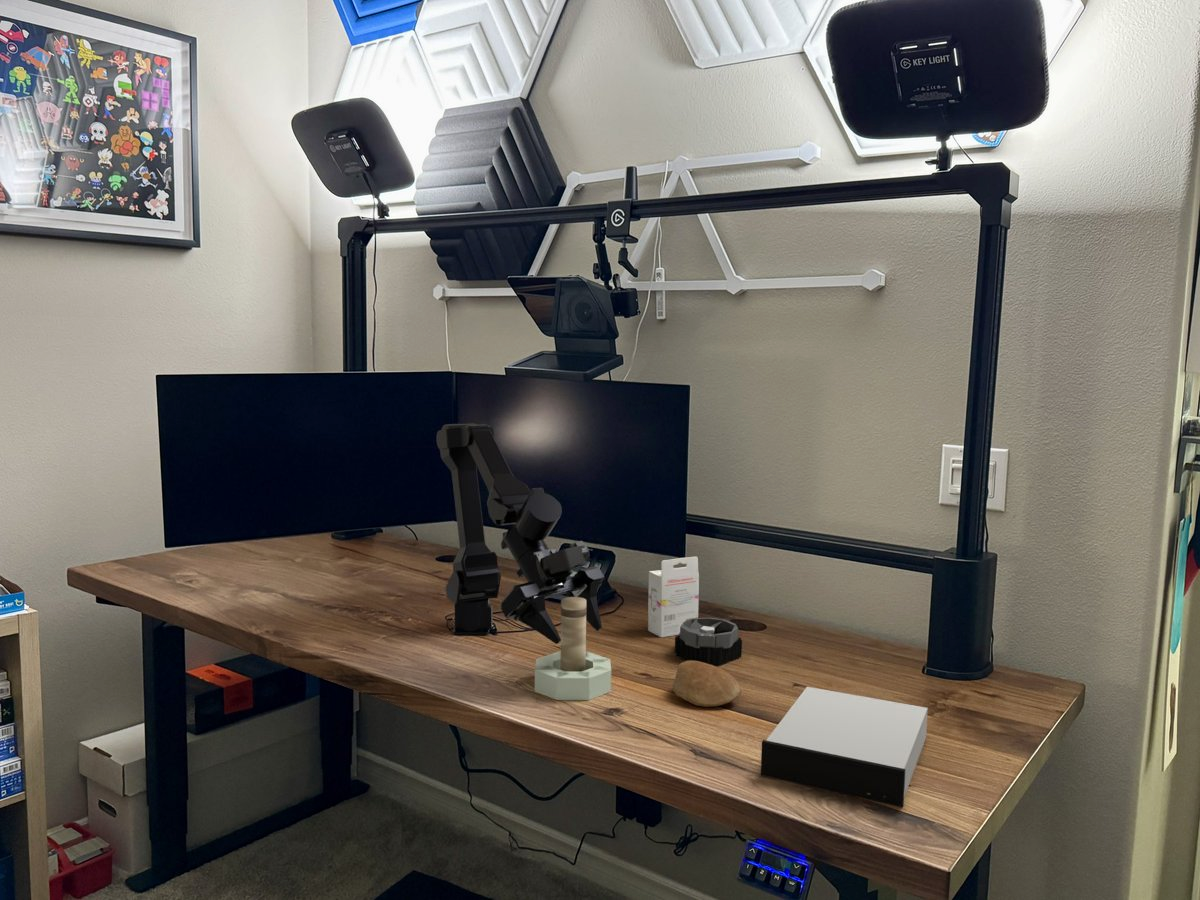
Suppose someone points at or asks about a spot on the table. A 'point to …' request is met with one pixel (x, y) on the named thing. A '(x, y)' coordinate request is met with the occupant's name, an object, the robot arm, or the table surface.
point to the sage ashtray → (572, 678)
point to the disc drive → (847, 745)
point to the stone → (705, 684)
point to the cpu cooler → (708, 641)
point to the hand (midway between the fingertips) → (579, 635)
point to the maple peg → (573, 634)
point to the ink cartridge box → (673, 596)
